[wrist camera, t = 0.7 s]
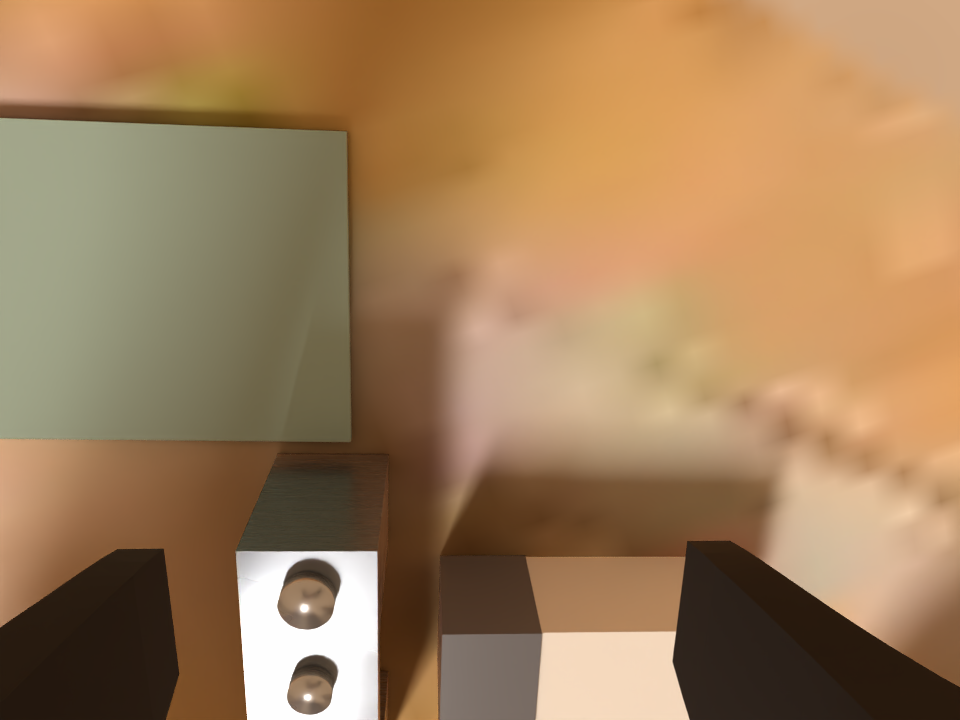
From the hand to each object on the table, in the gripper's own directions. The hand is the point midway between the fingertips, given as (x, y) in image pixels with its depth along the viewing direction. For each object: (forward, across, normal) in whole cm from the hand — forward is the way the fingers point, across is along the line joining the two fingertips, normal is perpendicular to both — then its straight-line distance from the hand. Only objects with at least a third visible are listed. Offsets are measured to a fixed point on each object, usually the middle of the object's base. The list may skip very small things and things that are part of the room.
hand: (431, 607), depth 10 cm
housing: (+10, +3, +8) cm, 13 cm away
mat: (+10, +8, -2) cm, 13 cm away
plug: (+10, -4, +8) cm, 14 cm away
